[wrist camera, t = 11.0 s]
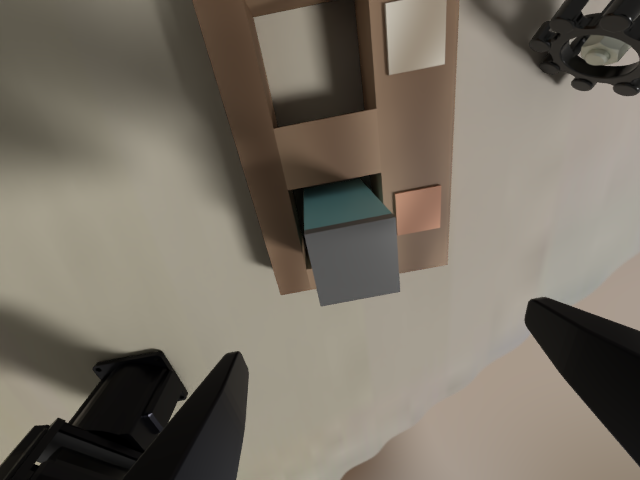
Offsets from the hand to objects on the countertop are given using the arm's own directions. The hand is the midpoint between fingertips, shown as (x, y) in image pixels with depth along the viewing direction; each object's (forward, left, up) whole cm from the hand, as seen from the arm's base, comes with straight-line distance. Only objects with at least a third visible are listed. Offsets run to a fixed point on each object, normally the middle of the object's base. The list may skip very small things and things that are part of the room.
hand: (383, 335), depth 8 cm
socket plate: (+1, +4, -12) cm, 13 cm away
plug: (0, 0, -12) cm, 12 cm away
